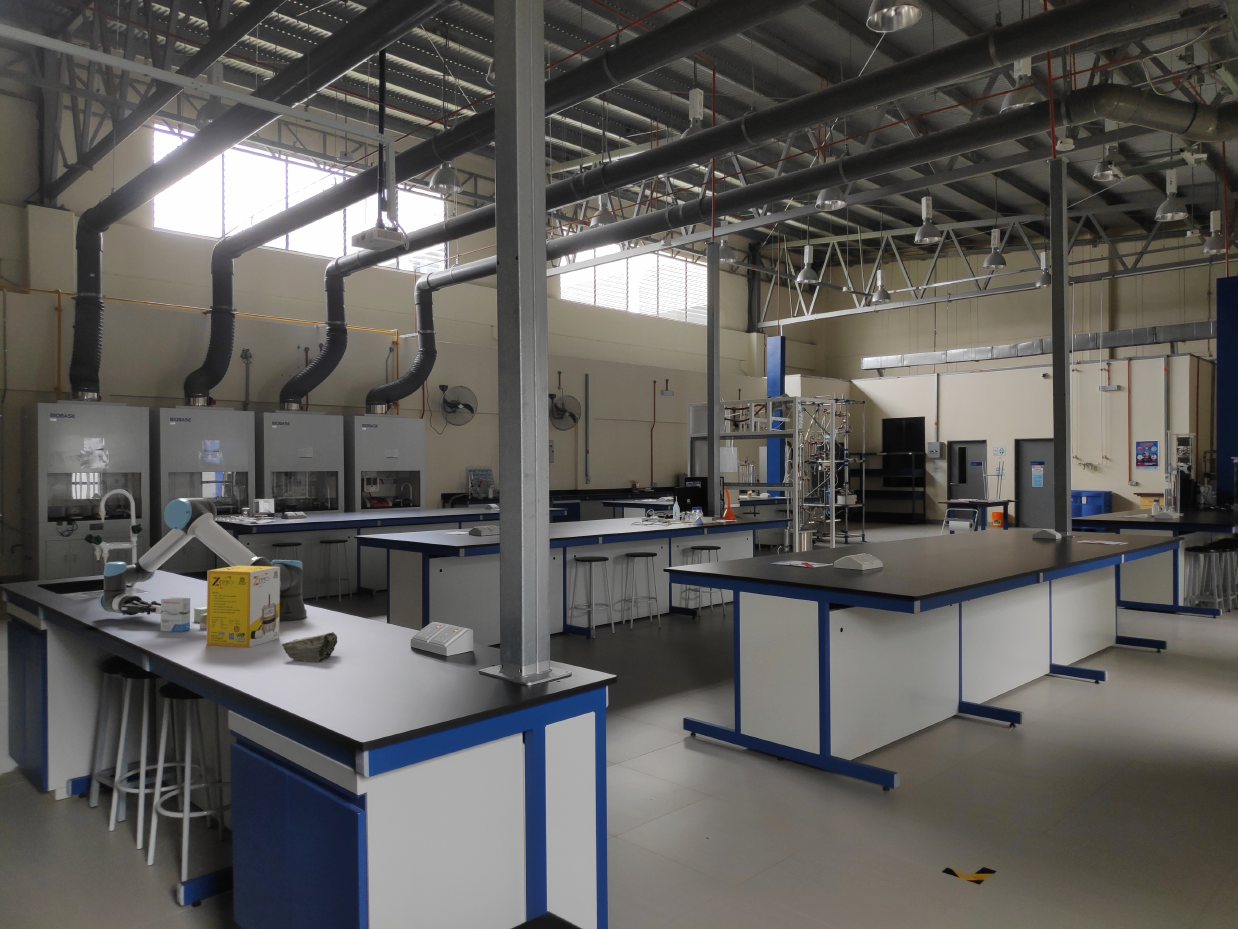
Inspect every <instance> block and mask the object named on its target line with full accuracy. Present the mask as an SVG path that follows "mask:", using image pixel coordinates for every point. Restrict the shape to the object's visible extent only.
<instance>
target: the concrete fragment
mask: <svg viewBox="0 0 1238 929" xmlns="http://www.w3.org/2000/svg"><path fill="white" fill-rule="evenodd" d="M337 643H338V636H337V634H336V633H335V632H334V631H331V632H327V633H323V634H319V635H315V636H308V637H304V638H299V639H298V638H297V639H296V638H295V639H293V640H291V641H287V642H285V643H282V644H281V646H282V647H283V650H284V652H285V653H286V655H287V656H288V657H289V658H290V659H293V660H294V661H295V660H296V661H298V662H306V663H313V664H314V663H319V662H320V663H321V662H322V661H325V660H327V659H329V658H331V655H332V654H333V652H334V651H335V648H336V645H337Z"/></svg>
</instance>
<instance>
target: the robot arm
mask: <svg viewBox="0 0 1238 929" xmlns="http://www.w3.org/2000/svg"><path fill="white" fill-rule="evenodd" d="M163 514H164V515H163V518H164V522H165V523H166V525H167V527H169V528H170V529H171V530H170V531H169V532H168V533H166V535H165V536H164V537H162V538H161V539H160V540H159V541H158V542H157V543H155V544H154V545H153V546H152V547H151V548H150V549H149V550H148V551H147V552H145V554H143V555H142V556H141V557H140V558H139V559H138V560H136V561H135V562H134V563H133V564H127V563H126V562H125V561H110V562H106V563H105V564H104V569H103V593H102V594H101V595H100V596H99V597H98V600H97V602H98V607H99V608H100V609H101V610H103V611H106V612H107V613H108V612H109V613H117V614H122V616H125V615H127V616H134V615H135V616H136V615H138V614H145V613H146V615H151V613H152V614H157V615H161V602H157V601H156V600H152V601H151V602H150V603H149V602H148V601H145V600H143V599H142V598H141V597H140V596H139V595H135V594H134V595H132V594H127V585H130V584H137V583H144V582H147V581H150V580H151V579H152V578H154V576H155V574H156V573H155V572H156V570H157V569H158V568H160V567H161V566H162V565H163V564H165V563H166V561H168V560H169V559H170V558H171V557H172V556H174V554H176V553H177V552H178V551H179V550H180V549H182V547H184V546H185V545H186V544H187V543H188V542H189V541H191V540H192V539H193V538H196V539H198V540H199V541H200V542H202V543H203V544H204V545H205V546H206V547H207V548H209V549H210V550H211V551H212V552H213V553H214V554H216V556H218V557H220V558H221V559H222V560H223V561H224V562H225V563H227V564H228V565H229V567H232V566H238V565H240V566H268V567H280V614H279V622H283V621H287V622H288V621H296V620H301V619H305V618H307V615H308V613H307V609H306V607H305V603H304V599H303V573H304V569H303V562H302V561H301V560H291V559H290V560H289V559H288V560H287V559H284V560H283V559H273V560H271V561H270V560H268V558H266V557H265V556H256V554H255V553H254V552H252V551H251V550H250V549H249V548H247V547H246V546H245V545H244V544H242V543H241V542H240V541H239V540H238V539H237V538H235V537H234V536H233V535H232V534H230V533H229V532H228V531H227V530H225V528H223V527H222V526H221V525H220V524H218V523H217V522H216V521H215V520H216V518H217V514H218V512H217V507H216V505H215V504H214V502H213V501H212V500H210V499H208V498H206V497H179V498H177V499H176V498H175V499H173V500H171V501H170V502H169V503H167V505H166V506H165V509H164V512H163Z"/></svg>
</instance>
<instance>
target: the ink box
mask: <svg viewBox="0 0 1238 929" xmlns="http://www.w3.org/2000/svg"><path fill="white" fill-rule="evenodd" d="M160 604H161V614H160V631H161V632H180V633H181V632H186V631H188V630H189V631H190V630H191V598H190V597H174V596H173V597H172V596H171V597H170V596H168V597H165V598H162V599H160Z"/></svg>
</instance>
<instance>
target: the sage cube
mask: <svg viewBox="0 0 1238 929" xmlns="http://www.w3.org/2000/svg"><path fill="white" fill-rule="evenodd" d="M193 611H194V612H193V616H194V617H193V621H194V622H197V623H200V615H202V614H205V613H207V606H202V607H195V608H194V610H193Z"/></svg>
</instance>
